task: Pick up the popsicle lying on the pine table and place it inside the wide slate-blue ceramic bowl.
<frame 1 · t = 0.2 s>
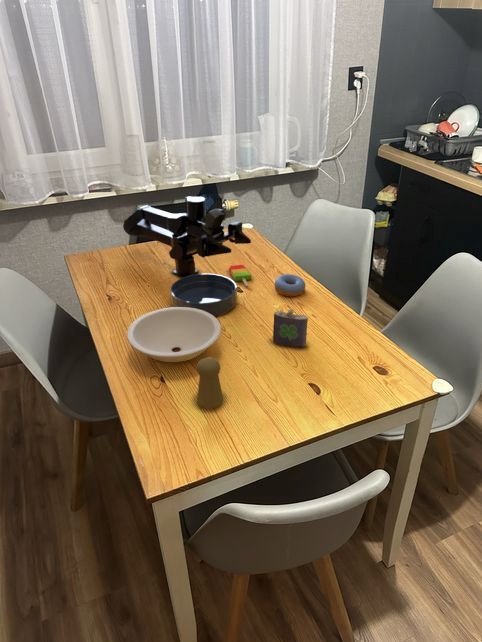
hand: (240, 246, 150), 16 cm above the table, tool horizontal, fingers open, 9 cm apart
flask: (289, 344, 135), on the table
popsicle: (241, 279, 169), on the table
brown game pawn: (210, 400, 115), on the table
doughnut: (289, 292, 161), on the table
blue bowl: (204, 302, 154), on the table
soup bowl: (176, 351, 132), on the table
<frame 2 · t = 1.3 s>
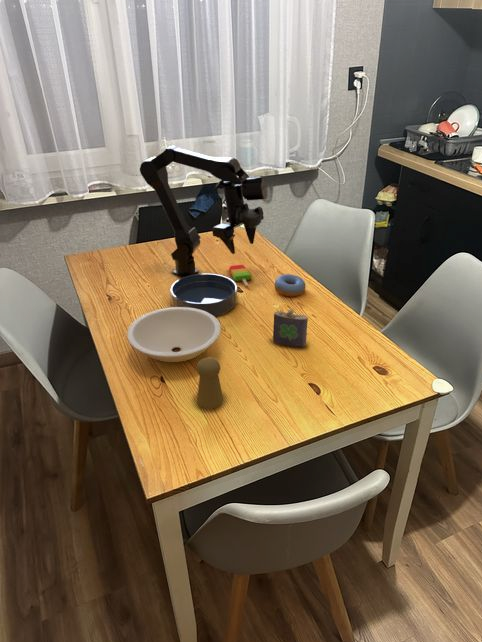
hand: (242, 248, 162), 11 cm above the table, tool pointing down, fingers open, 9 cm apart
nothing on the table moved.
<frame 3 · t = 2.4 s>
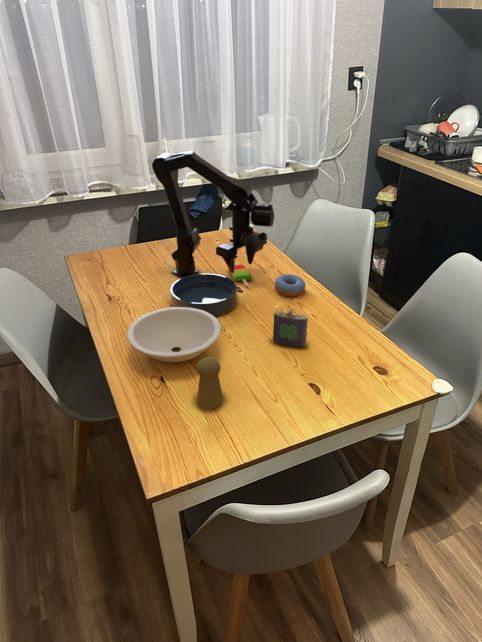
hand: (241, 268, 167), 4 cm above the table, tool pointing down, fingers open, 9 cm apart
nothing on the table moved.
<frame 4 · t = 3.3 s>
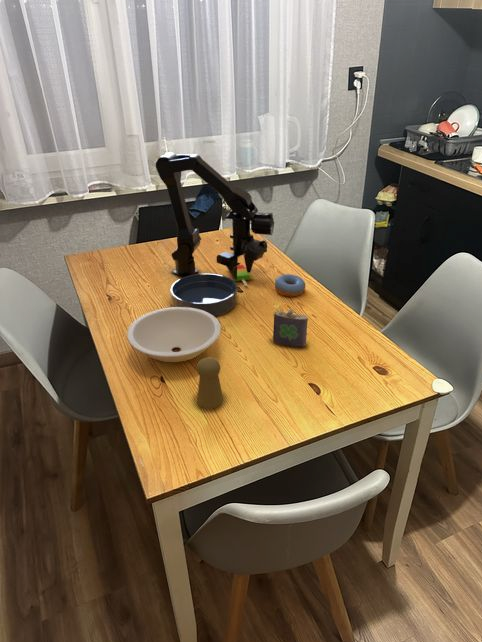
hand: (241, 275, 168), 1 cm above the table, tool pointing down, fingers closed on popsicle, 7 cm apart
popsicle: (241, 279, 169), on the table, touching gripper
everything else where it was.
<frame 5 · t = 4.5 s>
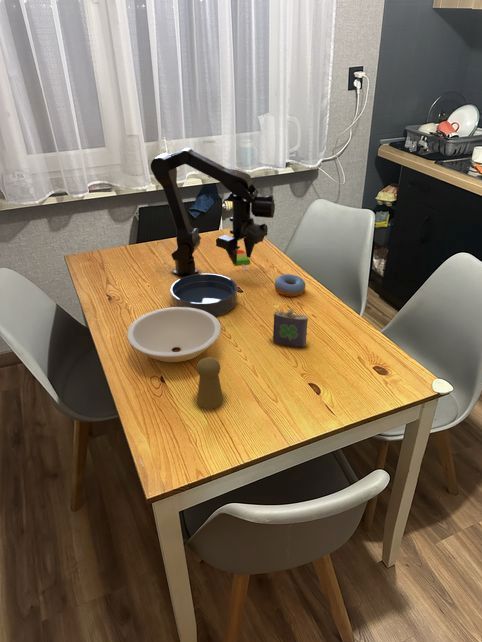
hand: (241, 260, 165), 7 cm above the table, tool pointing down, fingers closed on popsicle, 7 cm apart
popsicle: (240, 264, 166), point 5 cm above the table, touching gripper
everything else where it was.
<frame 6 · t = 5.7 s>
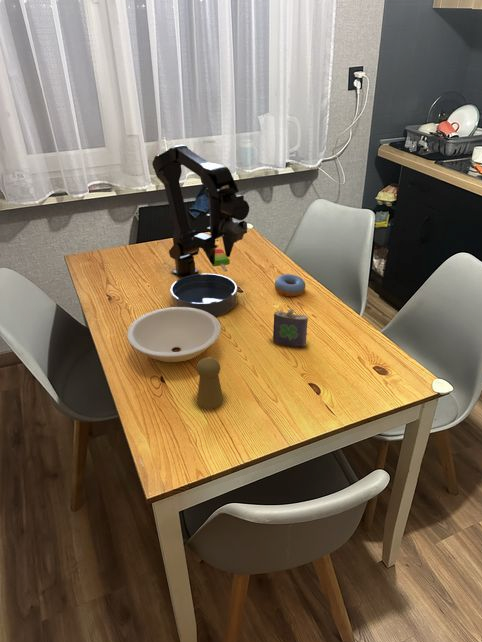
hand: (220, 260, 155), 11 cm above the table, tool pointing down, fingers closed on popsicle, 7 cm apart
popsicle: (219, 264, 155), point 10 cm above the table, touching gripper
everything else where it was.
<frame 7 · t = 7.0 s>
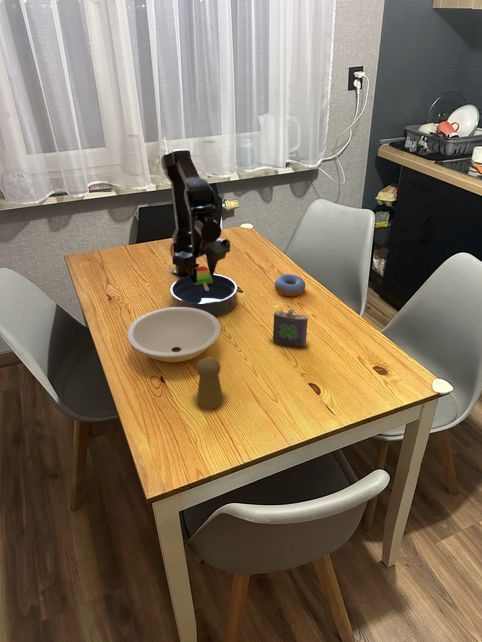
hand: (203, 278, 150), 8 cm above the table, tool pointing down, fingers closed on popsicle, 7 cm apart
popsicle: (202, 282, 151), point 7 cm above the table, touching gripper
everything else where it was.
when the fingers open (2 cm above the table, at t = 9.3 s): popsicle stays where it is, resting on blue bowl.
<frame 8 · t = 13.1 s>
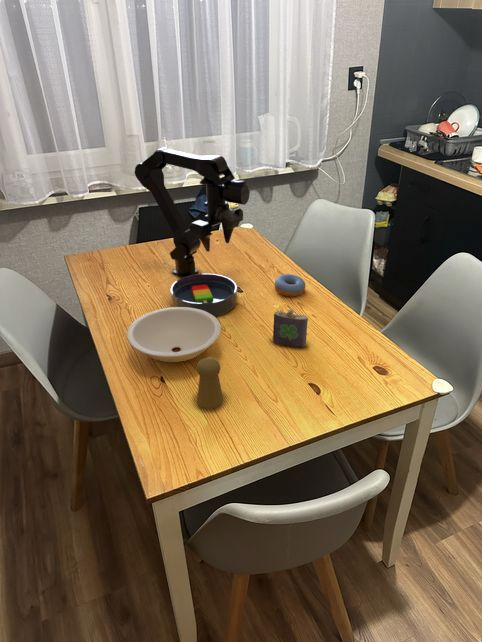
hand: (217, 247, 161), 12 cm above the table, tool pointing down, fingers open, 9 cm apart
popsicle: (203, 301, 154), resting on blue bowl
everything else where it was.
at the end: popsicle inside the target area in the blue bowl (0.3 cm from its centre), point 0.4 cm above the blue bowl's base; the gripper is holding nothing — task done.
